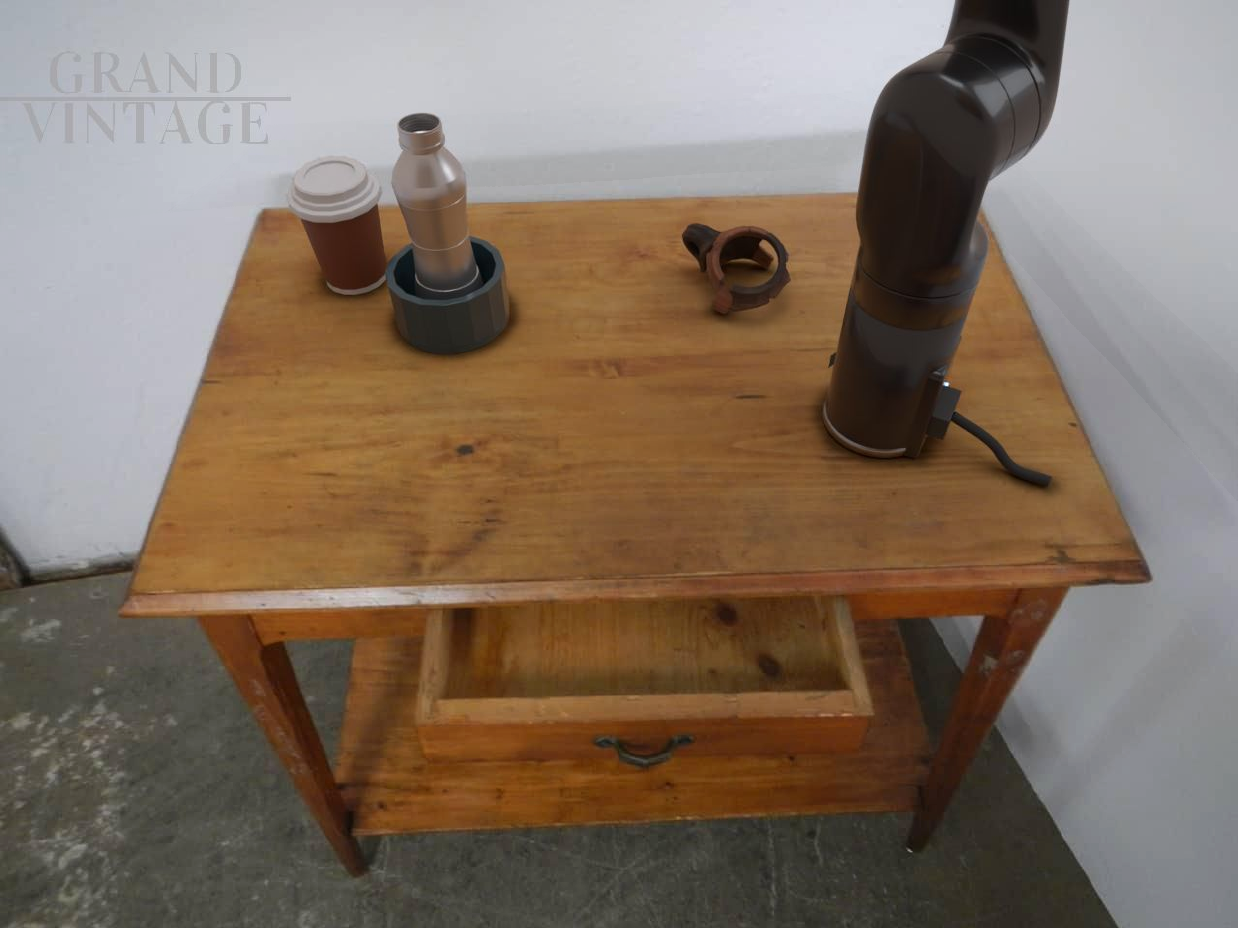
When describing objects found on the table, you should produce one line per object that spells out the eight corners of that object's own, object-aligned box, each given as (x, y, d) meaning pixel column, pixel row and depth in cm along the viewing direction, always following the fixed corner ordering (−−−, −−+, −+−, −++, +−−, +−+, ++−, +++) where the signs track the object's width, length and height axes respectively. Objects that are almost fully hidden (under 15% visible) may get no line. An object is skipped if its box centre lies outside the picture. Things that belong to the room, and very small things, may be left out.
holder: (530, 301, 96) (525, 252, 91) (469, 367, 89) (460, 318, 85) (439, 271, 99) (430, 223, 95) (374, 333, 93) (361, 284, 88)
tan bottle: (476, 335, 91) (445, 146, 76) (410, 327, 92) (367, 139, 77) (495, 294, 95) (469, 108, 80) (432, 287, 96) (395, 101, 81)
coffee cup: (297, 296, 97) (263, 193, 88) (335, 245, 102) (307, 144, 94) (379, 308, 95) (353, 205, 86) (413, 256, 101) (392, 155, 92)
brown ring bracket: (797, 273, 99) (812, 240, 91) (754, 348, 97) (766, 320, 89) (698, 221, 100) (703, 183, 92) (654, 293, 99) (656, 262, 91)
